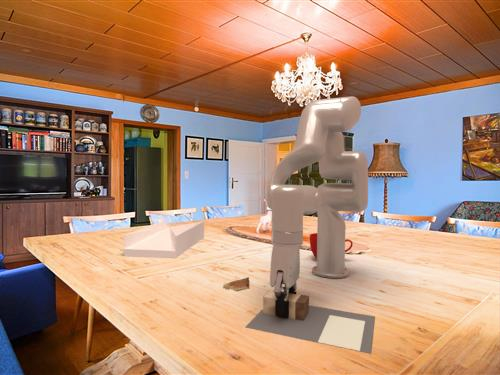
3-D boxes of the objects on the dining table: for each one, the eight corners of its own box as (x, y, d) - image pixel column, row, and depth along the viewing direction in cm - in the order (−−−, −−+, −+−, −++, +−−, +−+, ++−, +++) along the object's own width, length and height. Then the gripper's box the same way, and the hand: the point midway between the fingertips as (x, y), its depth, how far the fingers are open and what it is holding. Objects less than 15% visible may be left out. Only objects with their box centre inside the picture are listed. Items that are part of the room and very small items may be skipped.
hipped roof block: (175, 259, 133) (175, 236, 133) (124, 257, 135) (124, 234, 135) (203, 238, 178) (204, 221, 177) (164, 237, 180) (164, 220, 180)
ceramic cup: (354, 266, 124) (354, 239, 124) (308, 263, 128) (309, 237, 127) (350, 257, 137) (351, 234, 137) (309, 255, 140) (310, 232, 140)
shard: (248, 281, 106) (248, 275, 106) (265, 287, 101) (265, 281, 101) (222, 289, 99) (222, 283, 99) (238, 296, 93) (238, 289, 93)
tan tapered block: (263, 313, 79) (263, 296, 79) (270, 305, 84) (270, 289, 84) (303, 320, 75) (303, 303, 75) (308, 312, 80) (309, 295, 80)
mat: (272, 301, 88) (272, 298, 88) (375, 318, 78) (375, 316, 78) (244, 329, 72) (244, 326, 72) (370, 356, 62) (370, 353, 62)
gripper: (282, 231, 88) (282, 297, 89) (259, 242, 72) (258, 323, 73) (310, 233, 85) (309, 301, 86) (292, 246, 69) (291, 329, 70)
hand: (286, 310), depth 79 cm, fingers open, 5 cm apart
